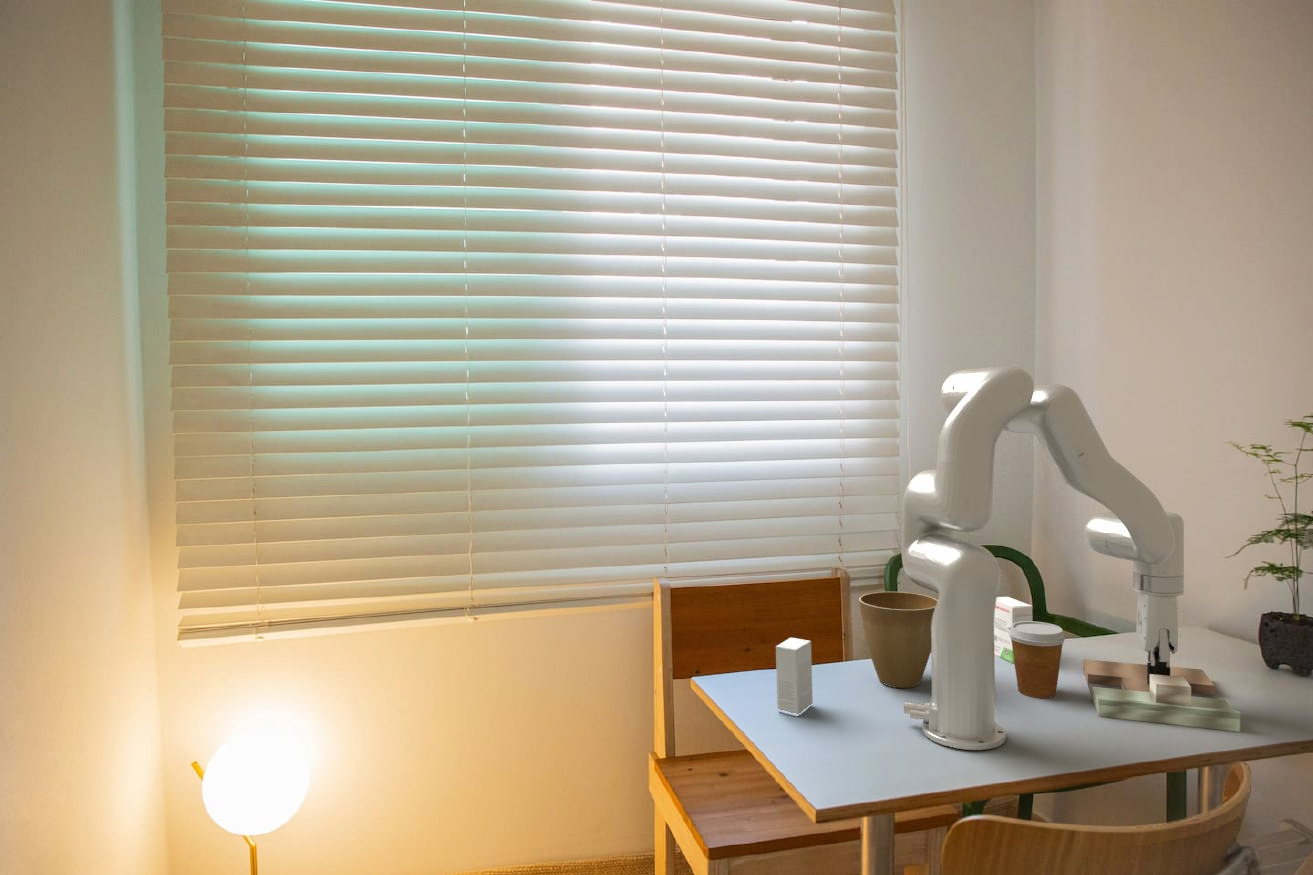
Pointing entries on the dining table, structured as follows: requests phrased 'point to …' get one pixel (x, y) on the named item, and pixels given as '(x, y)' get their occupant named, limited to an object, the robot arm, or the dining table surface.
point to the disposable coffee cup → (1037, 657)
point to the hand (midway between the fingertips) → (1158, 686)
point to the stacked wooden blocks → (1128, 697)
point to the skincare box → (794, 675)
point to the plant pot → (898, 635)
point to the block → (1170, 690)
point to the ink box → (1008, 624)
